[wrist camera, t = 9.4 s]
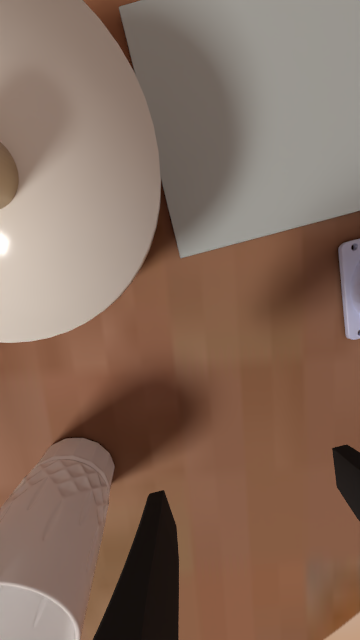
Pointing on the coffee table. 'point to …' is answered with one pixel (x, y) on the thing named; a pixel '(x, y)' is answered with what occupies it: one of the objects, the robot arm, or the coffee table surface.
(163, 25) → the mat
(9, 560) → the white cup
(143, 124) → the lid
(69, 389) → the coffee table surface
